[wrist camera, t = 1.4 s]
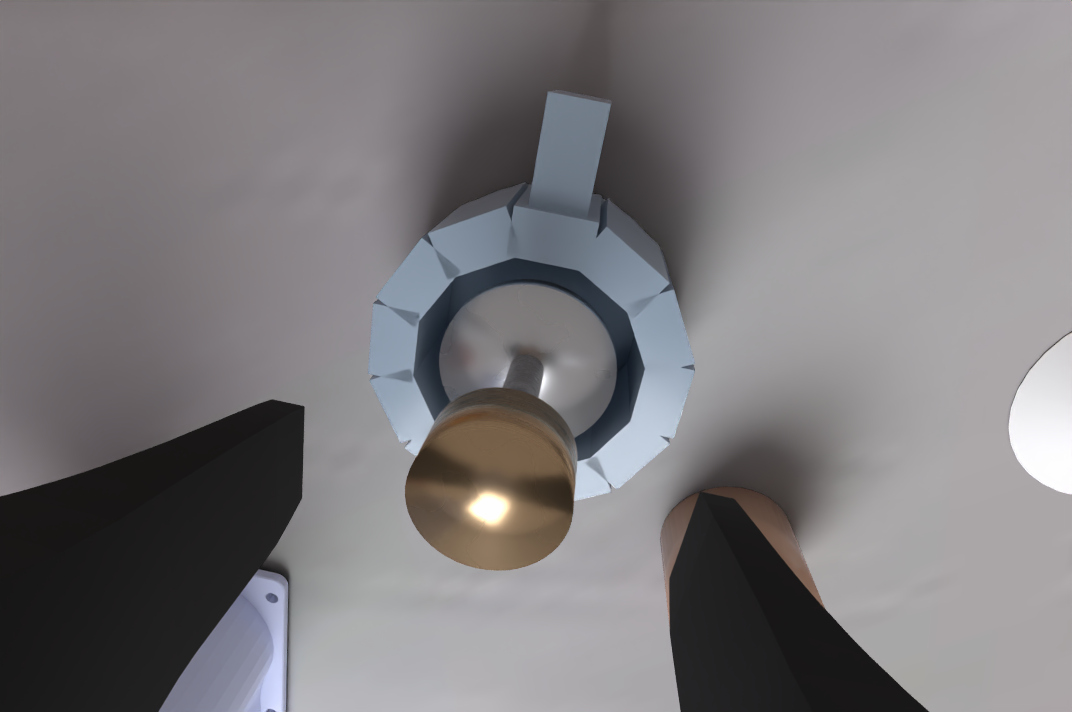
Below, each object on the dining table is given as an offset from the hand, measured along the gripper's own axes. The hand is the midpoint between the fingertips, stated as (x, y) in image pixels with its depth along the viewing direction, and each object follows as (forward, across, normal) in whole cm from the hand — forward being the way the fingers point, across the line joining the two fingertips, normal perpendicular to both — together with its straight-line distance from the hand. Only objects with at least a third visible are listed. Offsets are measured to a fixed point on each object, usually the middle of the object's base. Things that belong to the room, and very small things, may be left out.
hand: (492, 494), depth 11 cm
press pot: (+10, 0, 0) cm, 10 cm away
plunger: (+6, 0, 0) cm, 6 cm away
